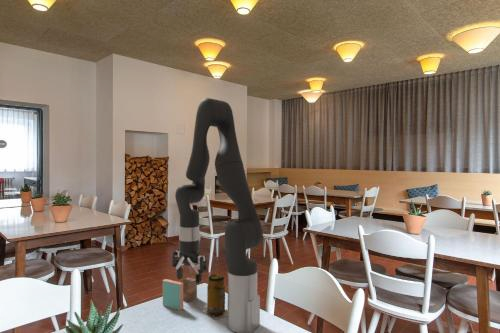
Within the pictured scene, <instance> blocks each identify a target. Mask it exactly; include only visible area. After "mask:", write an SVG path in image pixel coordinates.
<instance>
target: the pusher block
mask: <svg viewBox="0 0 500 333" xmlns="http://www.w3.org/2000/svg"><path fill="white" fill-rule="evenodd" d="M181 283H183V302H188V303H191V302H193V301H194V300H196V299H198V284H196V278H192V277H186V278H185V279H183V280H181Z"/></svg>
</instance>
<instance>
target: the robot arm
mask: <svg viewBox="0 0 500 333" xmlns="http://www.w3.org/2000/svg"><path fill="white" fill-rule="evenodd" d="M196 110H197V111H196V114H195V123H194V130H193V131H194V132H193V138H192V147H191V153H190V157H189V161H188V164H187V168H186V171H185V176H186V179H188V180H189V181H192V183H191V184H181V185H179V186H178V187H177V188H176V191H175V194H174V195H175V202H176V205H177V209H178V213H179V232H178V238H179V239H178V249H177V250H174V251H173V252H172V261H171V262H172V267H173V268H175V269H176V278H177V280H181V279H183V274H184V272H183V270H184V269H183V267H184V266H189V267H192V269H193V270H194V271H195V279H196V284H197V285H199V284H200V283H201V282H202V281H203V280H202V278H203V273H205V272H207V270H208V268H207V267H208V266H207V256H206V254H203V255H200V253H199V251H200V247H201V246H200V245H201V244H200V242H201V240H200V234H201V233H200V231H201V230H200V212H199V211H198V210H197V209H194V208H192V207H191V204H196V203H200V202H201V201H202V200H203V198H204V196H205V192H206V190H205V189H206V188H205V187H206V185H205V184H206V174H207V171H208V168H209V165H210V164H209V163H210V158H211V157H210V151H209V147H208V141H207V140H208V139H207V138H208V136H207V135H208V132H209V129H210V127H214V128H217V131H218V136H219V146H218V149H217V152H216V155H215V160H214V169H215V173H216V177H217V181H218V183H219V186H220V187H221V189H222V190H223V192H224V193H225V194H226V195H227V196H228V198H229V199H230V200H231V201H232V203H233V204H234V206H235V207H236V211H237V213H238V216H239V219H237V220H236V219H235V220H231V221H229V222H228V223H227V224H226V227H225V228H224V249H225V251H224V252H225V254H224V255H225V261H226V266H227V310H228V315H227V328H228V329H229V331H231V332H234V333H254V331H255V330H257V328H258V327H259V326H260V324H261V322H260V321H261V320H260V319H261V317H260V315H261V305H260V304H261V297H260V294H258V262H257V261H256V260H255V259H252V258H250V257H247V250H249V249H254V248H257V247H258V246H260V245H261V244H262V242H263V238H264V233H263V227H262V224H261V220H260V218H259V215H258V213H257V210H256V207H255V203H254V201H253V199H252V194H251V191H250V188H249V187H250V186H249V183H248V180H247V179H248V178H247V175H246V171H245V167H244V163H243V159H242V156H241V153H240V147H239V143H238V139H237V132H236V127H235V120H234V115H233V114H234V113H233V110H232V107H231V105H230V104H229V103H228V102H227V101H224V100H220V99H219V100H218V99H214V98H210V97H209V98H208V97H205V98H203V99H201V101H200V102H199V104H198V107H197V109H196Z"/></svg>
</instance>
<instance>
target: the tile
mask: <svg viewBox="0 0 500 333" xmlns="http://www.w3.org/2000/svg"><path fill="white" fill-rule="evenodd" d="M162 306H163V307H168V308H170V309H175V310H177V311H181V310H183V309H184V300H183V283H182V281H181V282H180V281H177V280H172V279H167V278H165V279H162Z"/></svg>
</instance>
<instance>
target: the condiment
mask: <svg viewBox="0 0 500 333" xmlns="http://www.w3.org/2000/svg"><path fill="white" fill-rule="evenodd" d="M207 282H208V283H207V287H206V289H207V292H206V294H207V296H206V299H207V300H206V301H207V304H206V305H207V308H204V309H202V310H201V311H202V312H204V313H205V314H206V315H208V316H209V317H211V318H212V319H213V320H218V319H221V318H224V317H228V308H226V284H225V277H224V275H222V274H218V273H217V274H214V273H213V274H211V275H209V277H208V281H207Z"/></svg>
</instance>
